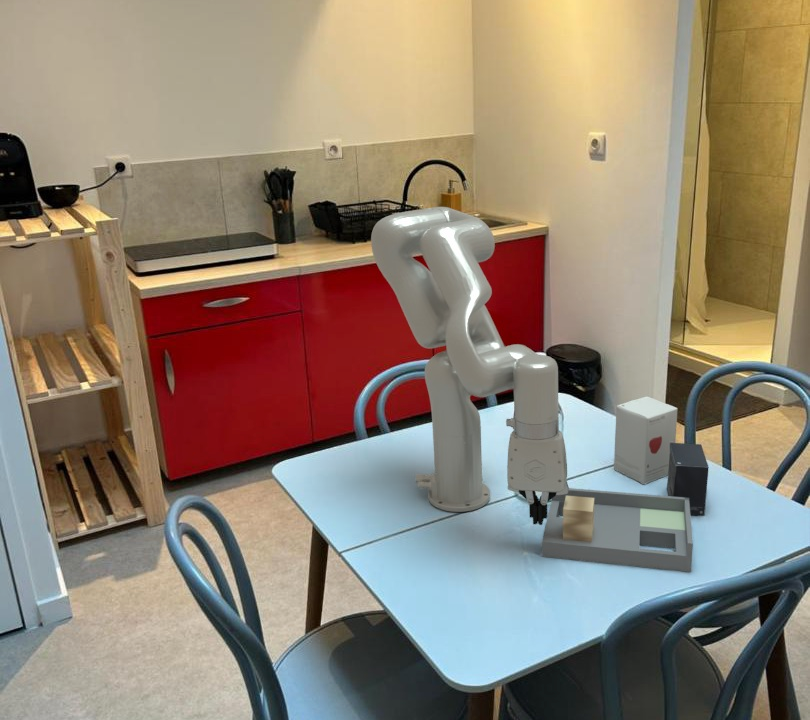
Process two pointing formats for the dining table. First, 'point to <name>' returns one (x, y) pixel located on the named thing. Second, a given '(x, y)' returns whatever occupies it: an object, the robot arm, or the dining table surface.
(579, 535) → the beech block
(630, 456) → the supplement box
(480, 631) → the dining table surface
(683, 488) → the small box
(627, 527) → the tray
